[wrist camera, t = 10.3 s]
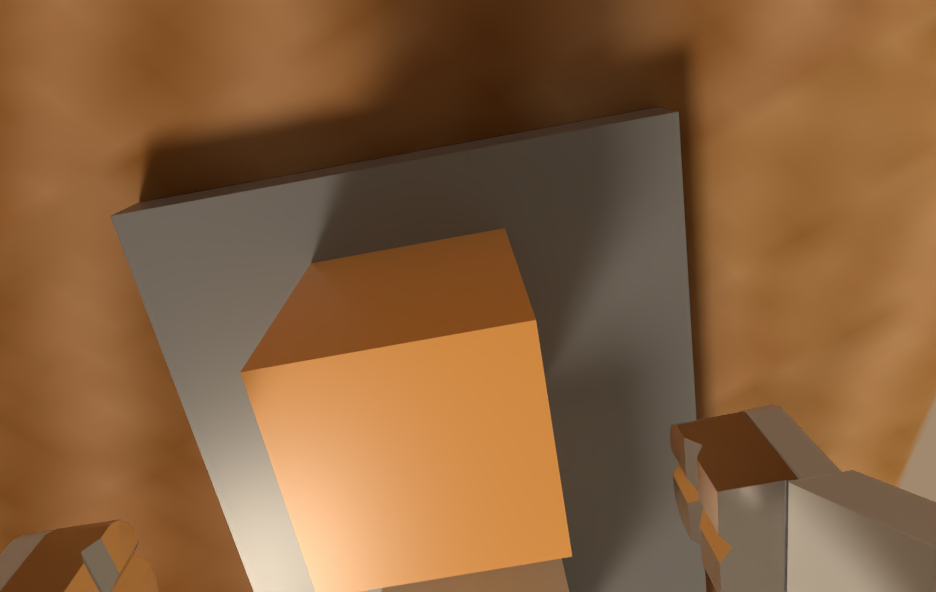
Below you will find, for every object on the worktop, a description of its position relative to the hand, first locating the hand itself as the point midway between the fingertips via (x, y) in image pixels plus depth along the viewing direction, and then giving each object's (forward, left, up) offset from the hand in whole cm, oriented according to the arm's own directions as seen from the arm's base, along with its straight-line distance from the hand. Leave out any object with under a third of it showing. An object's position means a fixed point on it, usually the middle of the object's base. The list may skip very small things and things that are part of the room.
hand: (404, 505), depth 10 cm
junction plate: (+5, 0, -9) cm, 11 cm away
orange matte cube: (+1, 0, -8) cm, 8 cm away
